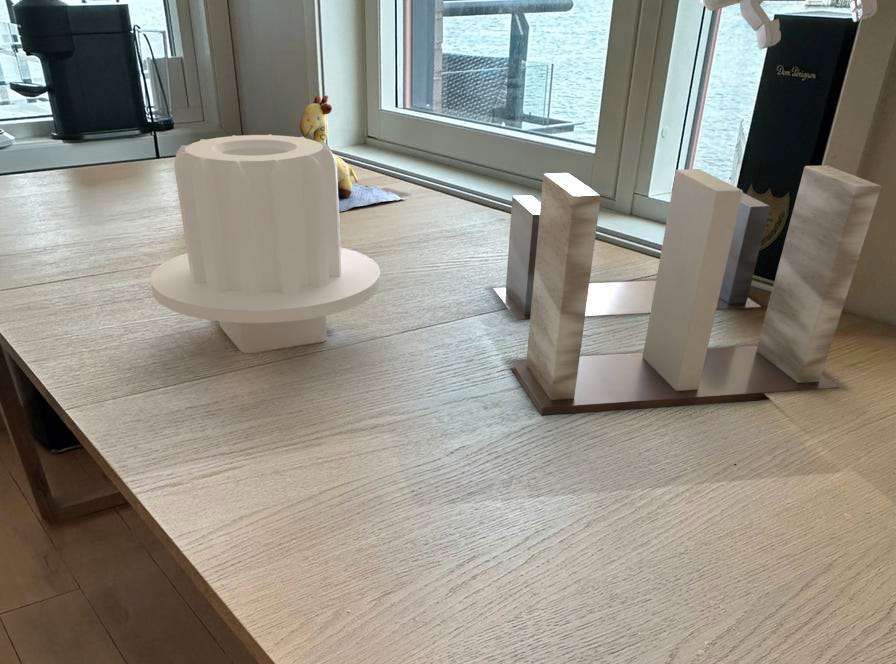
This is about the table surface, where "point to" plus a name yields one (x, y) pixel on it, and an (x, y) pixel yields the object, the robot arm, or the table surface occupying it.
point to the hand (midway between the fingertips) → (817, 31)
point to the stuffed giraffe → (340, 161)
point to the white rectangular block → (690, 275)
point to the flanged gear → (262, 242)
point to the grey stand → (637, 293)
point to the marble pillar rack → (725, 369)
